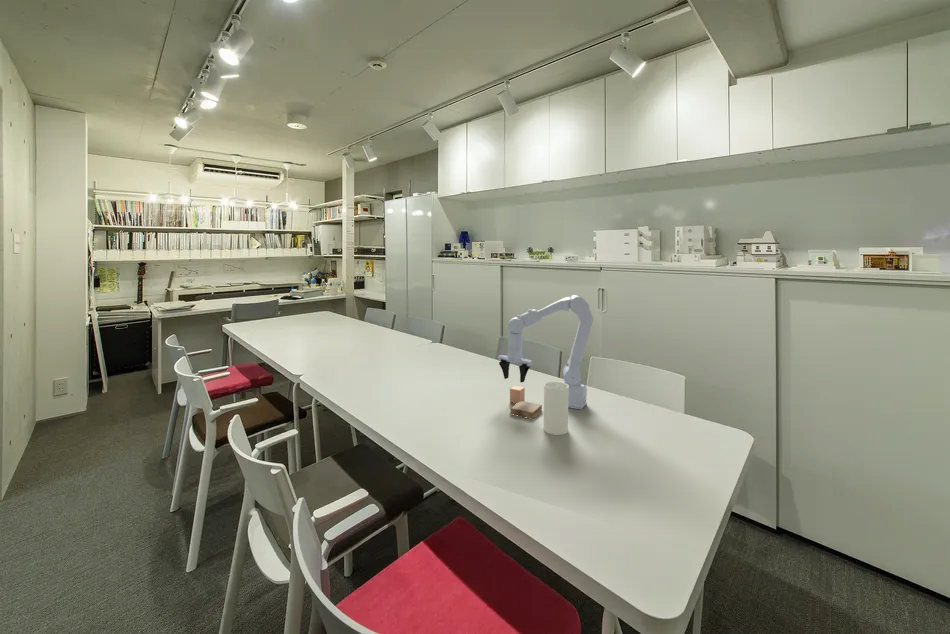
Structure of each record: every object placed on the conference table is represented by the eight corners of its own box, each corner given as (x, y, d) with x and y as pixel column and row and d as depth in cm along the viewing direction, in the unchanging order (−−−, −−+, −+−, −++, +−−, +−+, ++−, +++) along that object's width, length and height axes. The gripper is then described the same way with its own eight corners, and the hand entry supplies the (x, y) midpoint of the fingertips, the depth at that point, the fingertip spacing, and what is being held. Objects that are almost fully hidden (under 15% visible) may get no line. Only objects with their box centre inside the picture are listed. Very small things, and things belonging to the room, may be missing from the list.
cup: (564, 424, 144) (565, 381, 141) (570, 434, 136) (571, 389, 133) (541, 425, 144) (542, 381, 141) (546, 435, 136) (547, 389, 133)
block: (524, 401, 167) (524, 387, 167) (519, 404, 164) (520, 390, 163) (514, 399, 170) (514, 385, 169) (509, 402, 166) (509, 388, 165)
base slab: (541, 412, 157) (541, 404, 156) (532, 420, 149) (532, 412, 149) (520, 407, 161) (520, 400, 161) (510, 415, 154) (510, 408, 153)
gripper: (494, 346, 163) (493, 379, 166) (525, 352, 155) (524, 386, 157) (503, 343, 169) (503, 375, 171) (534, 348, 161) (533, 381, 163)
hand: (514, 380), depth 164 cm, fingers open, 7 cm apart
